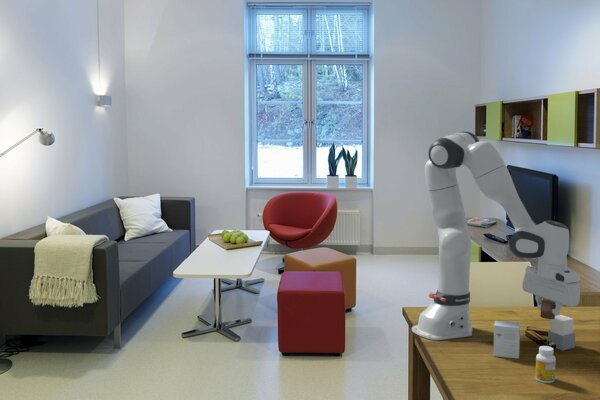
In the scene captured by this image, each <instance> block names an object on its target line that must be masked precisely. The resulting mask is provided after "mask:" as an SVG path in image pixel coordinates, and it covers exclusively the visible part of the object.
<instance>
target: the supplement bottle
mask: <svg viewBox="0 0 600 400" xmlns="http://www.w3.org/2000/svg"><path fill="white" fill-rule="evenodd" d="M554 350H555V348H554V347H551V346H549V345H541V346H538V354H536V357H535V372H534V373H535V376H534V377H535V380H536V381H538V382H539V383H544V384H551V383H553V382H555V380H556V363H557V362H556V361H557V359H556V356H555V355H554Z"/></svg>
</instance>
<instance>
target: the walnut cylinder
mask: <svg viewBox="0 0 600 400" xmlns="http://www.w3.org/2000/svg"><path fill="white" fill-rule="evenodd" d="M556 306H557V305H555V301H552V300H549V299H545V300H543V299H542V303H541V310H540V315H539V316H540V318H543V319H545V320H551V319H555V316H556V315H554V314H552V309H555V307H556Z"/></svg>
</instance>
